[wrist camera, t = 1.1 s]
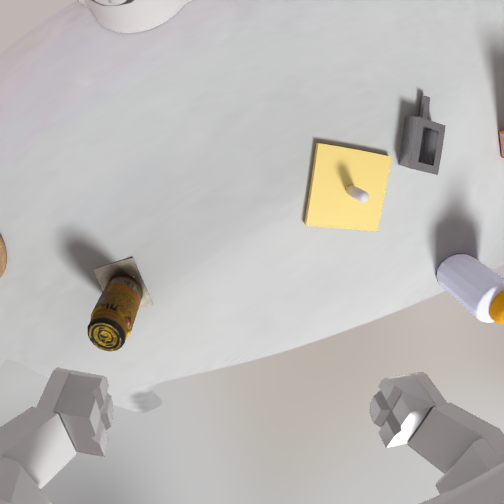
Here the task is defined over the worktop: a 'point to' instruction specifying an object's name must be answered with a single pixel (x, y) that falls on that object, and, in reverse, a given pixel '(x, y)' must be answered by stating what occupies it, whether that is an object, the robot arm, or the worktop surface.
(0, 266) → the candle holder
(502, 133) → the cracker box
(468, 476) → the robot arm
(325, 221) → the keeper
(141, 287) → the condiment
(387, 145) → the worktop surface
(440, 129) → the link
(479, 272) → the soap bottle
